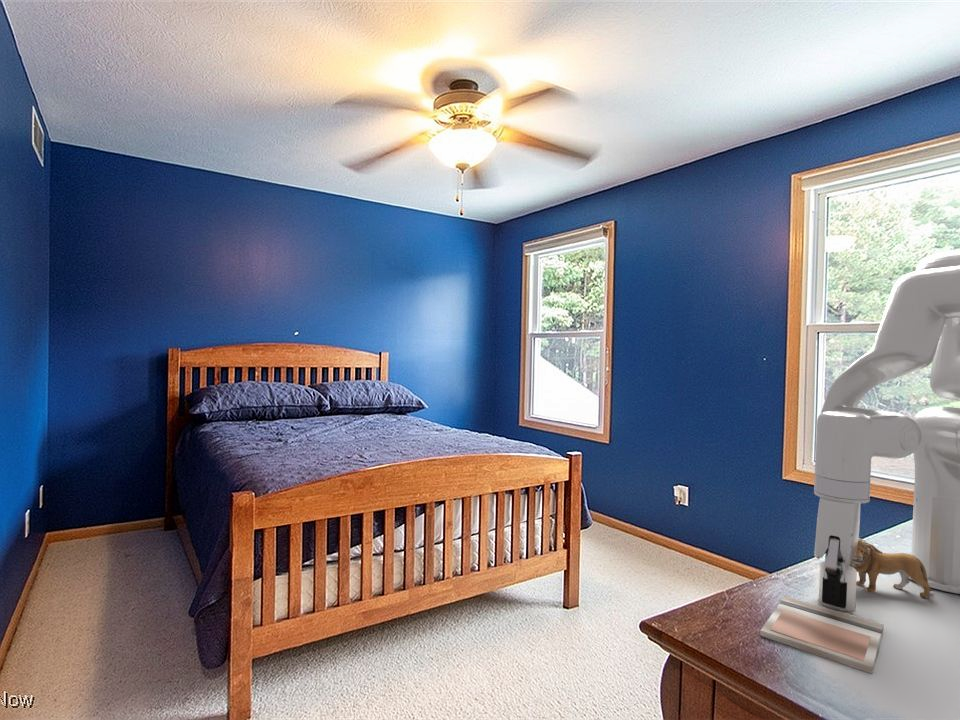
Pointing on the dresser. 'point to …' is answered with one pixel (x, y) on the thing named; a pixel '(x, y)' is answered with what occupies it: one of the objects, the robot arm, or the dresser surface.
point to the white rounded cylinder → (851, 587)
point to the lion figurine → (888, 567)
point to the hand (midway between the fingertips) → (836, 597)
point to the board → (825, 633)
